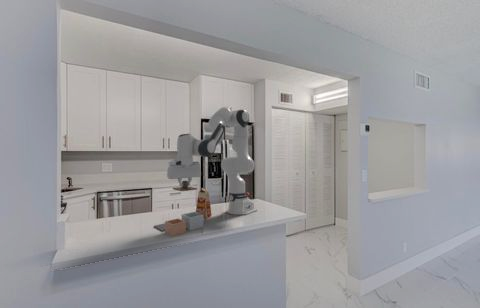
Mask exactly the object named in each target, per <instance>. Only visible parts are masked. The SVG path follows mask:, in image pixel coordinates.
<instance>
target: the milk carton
mask: <svg viewBox="0 0 480 308" xmlns="http://www.w3.org/2000/svg"><path fill="white" fill-rule="evenodd" d="M197 195H198V196H197V198H196V199H197V200H196V207H195V208H196V209H195V212H197V213H200V214H203V221H209V220H210V219H211V218H212V216H213V215H212V214H213V213H212V207H211V199H210V193H209V192H208V190H206V188H204V187H201V189H200V190H199V191H198V194H197Z"/></svg>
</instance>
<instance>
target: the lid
mask: <svg viewBox="0 0 480 308" xmlns="http://www.w3.org/2000/svg"><path fill="white" fill-rule="evenodd" d="M181 182H182V183H183V186H177V187H176V186H175V187H172V190H175V191H178V192H189V191H195V190H198V188H197V187H194V186H190V185H189V186H188V180H181Z"/></svg>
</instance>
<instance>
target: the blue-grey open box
mask: <svg viewBox="0 0 480 308" xmlns="http://www.w3.org/2000/svg"><path fill="white" fill-rule="evenodd" d="M181 220H183V221H185V222H186V230H188V231H193V230H196V229H201V228H204V220H203V214H200V213H197V212H196V211H192V212H189V213H188V212H187V213H186V212H185V213H182V214H181ZM200 227H201V228H200Z"/></svg>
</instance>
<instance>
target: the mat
mask: <svg viewBox="0 0 480 308" xmlns="http://www.w3.org/2000/svg"><path fill="white" fill-rule="evenodd" d="M153 227H154V228H155V229H157V230H159V231H160V232H165V222H164V223H159V224H155V225H153Z"/></svg>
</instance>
